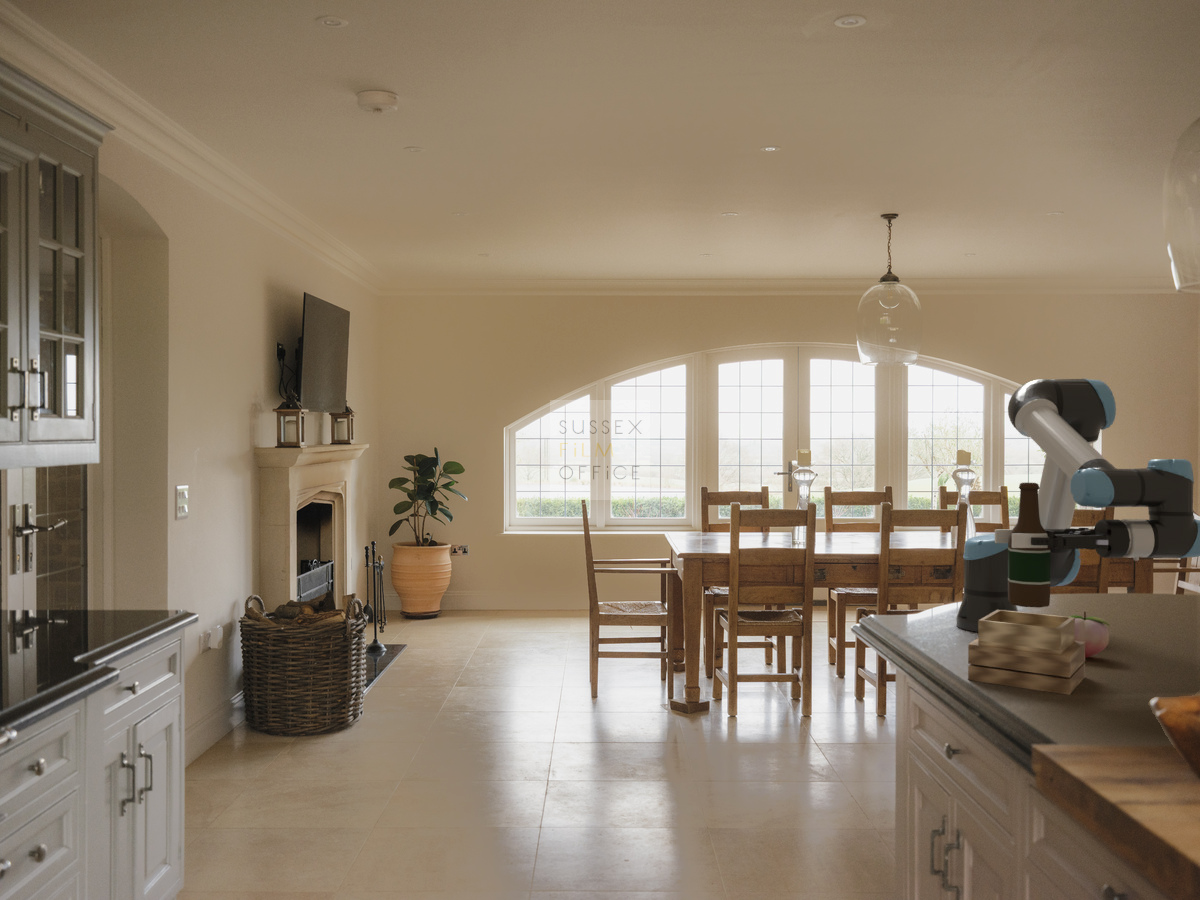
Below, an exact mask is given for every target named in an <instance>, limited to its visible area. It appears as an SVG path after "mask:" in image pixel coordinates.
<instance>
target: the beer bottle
mask: <svg viewBox="0 0 1200 900" xmlns="http://www.w3.org/2000/svg"><path fill="white" fill-rule="evenodd" d="M1039 487H1040V484H1039V483H1036V482H1020V483H1019V486H1018V489H1019V490H1020V493H1019V504H1018V505H1019V506H1018V517H1017V523H1016V524H1015V525H1014V527H1013V528H1012V529H1013V530H1012V531H1011V534H1010V536H1009V542H1008V600H1009V602H1010V604H1011V605H1016V607H1017V606H1018V607H1022V608H1046V607H1047V608H1048V607H1049V606H1050V602H1051V587H1050V548H1049V545H1047V548H1012V534H1047V533H1046V531H1045V530H1044V528H1043V527H1042V525H1041V522H1040V517H1039V503H1038V492H1039V489H1040V488H1039ZM1047 537H1048V535H1047Z"/></svg>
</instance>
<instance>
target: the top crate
mask: <svg viewBox="0 0 1200 900" xmlns="http://www.w3.org/2000/svg"><path fill="white" fill-rule="evenodd" d="M977 634H978V637H977V638H978V645H984V646H992V647H1000V648H1008V649H1016V650H1024V651H1032V652H1040V653H1048V654H1056V655H1061V654H1062V653H1063V652H1064V651H1065V650H1066V649H1067V648H1068V647H1070V646H1071V645H1072V644H1073V643H1074V642H1075V617H1068V616H1064V615H1054V614H1044V613H1033V612H1023V611H1018V612H1016V611H1006V610H996V611H994V612H992V613H990V614H989V615H987V616H985V617H983V618H982V619H980V620H978V632H977Z"/></svg>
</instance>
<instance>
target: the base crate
mask: <svg viewBox="0 0 1200 900" xmlns="http://www.w3.org/2000/svg"><path fill="white" fill-rule="evenodd" d="M967 646H968V647H967V648H968V649H967V652H968V653H967V656H968V657H967V661H968V662H967V663H968V664H969V665H967V672H968V673H967V676H968V677H967V678H968V679H967V680H968V681H973V682H980V683H981V682H982V683H988V684H994V685H1001V686H1007V687H1009V686H1010V687H1015V688H1022V689H1028V690H1035V691H1041V692H1042V691H1043V692H1050V693H1055V694H1062V695H1068V696H1070V695H1072V693H1073V691H1075V689H1076V688H1077V687H1078V686H1079V685H1080V684H1081V682H1082V681H1083V680H1084V679H1085V678H1086V663H1085V662H1086V658H1085V642H1080V641H1075V642H1074V643H1073V644H1072V645H1071V646H1070V647H1068V648H1067V649H1066V650H1065V651H1064V652H1063V653H1062V654H1061V655H1056V654H1048V653H1040V652H1032V651H1024V650H1016V649H1008V648H1000V647H992V646H984V645H978V637H977V638H976V639H974V640H972V641H971V642H970V643H968V645H967Z"/></svg>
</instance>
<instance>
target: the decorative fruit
mask: <svg viewBox="0 0 1200 900" xmlns="http://www.w3.org/2000/svg"><path fill="white" fill-rule="evenodd" d="M1067 617H1075V641H1080V642H1085V659H1086V658H1089V657H1092V656H1094V655H1097V654H1099V653H1101V652H1102V651H1104V650H1105V649H1106V647H1107V646H1108V645H1109V642H1110V634H1109V630H1108V628H1107V626H1110V624H1109V623H1108V622H1107V620H1105V619H1103V618H1102V617H1098V616H1087V612H1086V611H1084V612H1083V616H1082V615H1078V614H1077V615H1068V616H1067Z"/></svg>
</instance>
